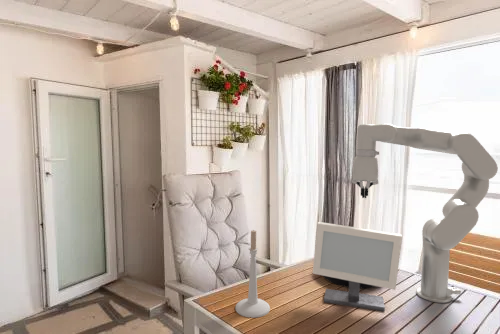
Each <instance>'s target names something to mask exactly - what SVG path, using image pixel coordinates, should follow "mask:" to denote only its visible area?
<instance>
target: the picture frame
mask: <svg viewBox="0 0 500 334" xmlns="http://www.w3.org/2000/svg"><path fill="white" fill-rule="evenodd" d="M402 242H403V235H402V234H401V233H396V232H395V233H394V232H388V231H381V230H375V229H369V228H362V227H355V226H349V225H343V224H342V225H341V224H337V223H336V224H335V223H331V222H330V223H329V222H322V221H318V222H317V226H316V235H315V245H314V255H313V263H312V264H313V266H312V274H314V275H319V276H322V275H323V276H328V277H333V278H338V279H343V280H348V281H353V282H358V283H363V284H368V285H373V286H376V287H379V288H385V289H389V290H396V288H397V279H398V272H399V265H400V256H401V249H402Z"/></svg>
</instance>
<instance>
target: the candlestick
mask: <svg viewBox="0 0 500 334" xmlns="http://www.w3.org/2000/svg"><path fill="white" fill-rule="evenodd" d="M248 250H249V254H250V264H249V280H248V295H247V297H248V298H244V299H242V300H239V301H238V302H237V303H236V304H235V312H236V313H237V314H239V315H240V316H242V317H244V318H245V317H246V318H250V317H251V318H254V319H255V318H261V317H264V316H266V315H268V314H269V312H270V310H271V307H270V305H269V303H268V302H267V301H265V300H264V299H261V298H258V297H259V296H258V281H257V280H258V279H257V277H258V276H257V275H258V274H257V257H256V255H257V254H258V250H259V248H258V247H257V230H254V229H252V230H250V247H248Z"/></svg>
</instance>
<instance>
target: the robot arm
mask: <svg viewBox="0 0 500 334" xmlns="http://www.w3.org/2000/svg"><path fill="white" fill-rule="evenodd" d="M356 131H357V132H356V156H354V158H353V161H352V162H353V163H352V174H351V175H352V176H351V177H352V178H351V184H354V185H357V186H358V187H359V188H360V196H361V197H362V198H361V199H367V197H369V189H370V187H372V186H375V185H379V163H378V162H379V161H378V158H377V157H376V156H380V151H378V150H376V149H377V142H381V143H386V144H393V145H398V146H405V147H410V148H414V149H418V150H424V151H432V152H437V153H443V154H450V155H457V157H458V158H459V160H460V161H461V162H462V163H461V171H462V173H463V177H464V178H463V182H462V184H461V186H460V187H459V188H458V190H457V191H456V192H455V193H454V194H453V195H452V196H451V197H450V199H448V200H447V202H446V203H444V205H443V207H442V210H441V211H442V215H443V216H444V217H443V218H442V219H440V218H439V219H438V218H431V219H428V220H427V221H426V222H425V223H424V224H423V227H422V231H421V233H422V234H421V235H422V257H421V261H422V262H421V276H420V286H419V287H417V288H416V295H418V297H420V298H422V299H424V300H426V301H428V302H429V301H430V302H433V303H439V304H443V303H444V304H445V303H449V302H451V301H452V297H453V296H452V295H461V294H462V291H461V290H460V289H458V288H457V289H456V288H455V287H453V286H449V273H450V272H449V270H450V252H451V251H450V250H451V249H453V248H455V247H456V246H458V244H460V243H461V241H463V240H464V238H466V236H467V235H468V234H469V233H470V232H471V231H472V230H473V229H474V227H475V226H476V225H477V223H478V221H479V215H480V214H479V211H478V209H477V207H478V205H479V204H480V203H481V202H482V201H483V200H484V198H485V197H486V196H487V194H488V191H489V188H490V180H491V179H493V178H494V177H495V176H496V175H497V173H498V164H497V161H495V159H494V158H493V156H492V155H490V153H489V151H488V150H486V148H485V147H484V146H483V145H482V144H481V142H480V141H479V140H478V139H477V138H476V137H475V135H472V134H471V133H469V132H464V131H463V132H456V131H447V130H440V129H435V128H425V127H402V126H396V125H393V124H391V123H382V124H372V123H371V124H369V123H367V124H366V123H365V124H363V123H362V124H358V126H357V128H356ZM363 182H366V184H365V186H364V183H363Z"/></svg>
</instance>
